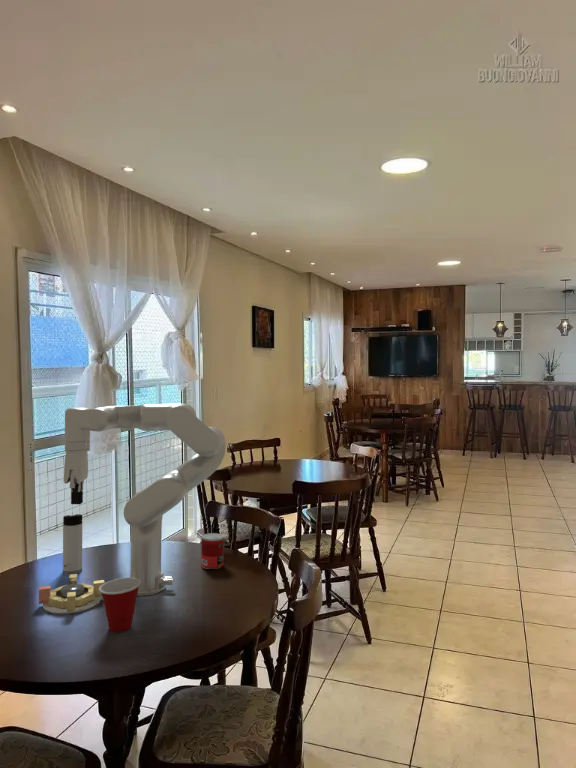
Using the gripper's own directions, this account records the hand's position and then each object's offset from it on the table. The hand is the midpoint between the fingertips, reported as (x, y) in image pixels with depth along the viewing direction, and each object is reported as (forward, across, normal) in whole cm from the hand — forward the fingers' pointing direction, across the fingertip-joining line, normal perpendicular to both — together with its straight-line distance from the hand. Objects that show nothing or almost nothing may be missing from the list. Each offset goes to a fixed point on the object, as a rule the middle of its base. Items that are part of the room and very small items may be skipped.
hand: (76, 503), depth 172 cm
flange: (+27, +11, +2) cm, 29 cm away
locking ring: (+26, +11, +2) cm, 28 cm away
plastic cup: (+27, +28, +20) cm, 44 cm away
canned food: (+27, -18, +42) cm, 53 cm away
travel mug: (+27, -15, -6) cm, 32 cm away
